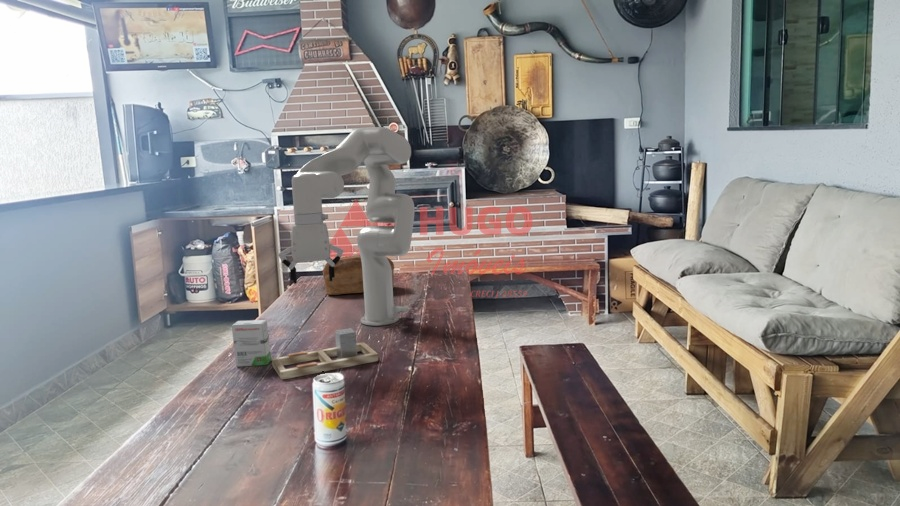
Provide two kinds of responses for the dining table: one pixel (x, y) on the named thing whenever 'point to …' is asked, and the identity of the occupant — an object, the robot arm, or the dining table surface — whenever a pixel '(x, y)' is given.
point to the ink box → (251, 343)
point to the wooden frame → (325, 361)
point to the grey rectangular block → (345, 343)
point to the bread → (347, 276)
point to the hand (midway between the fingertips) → (313, 281)
